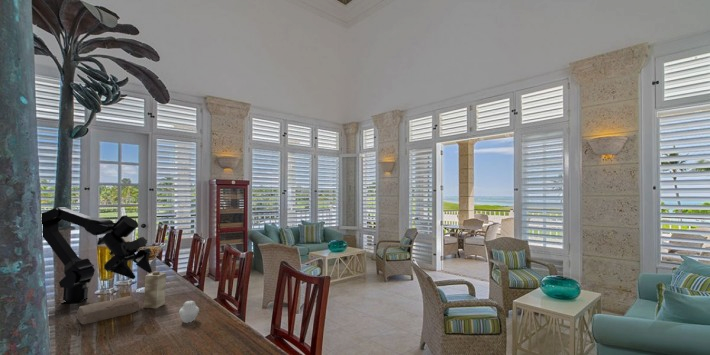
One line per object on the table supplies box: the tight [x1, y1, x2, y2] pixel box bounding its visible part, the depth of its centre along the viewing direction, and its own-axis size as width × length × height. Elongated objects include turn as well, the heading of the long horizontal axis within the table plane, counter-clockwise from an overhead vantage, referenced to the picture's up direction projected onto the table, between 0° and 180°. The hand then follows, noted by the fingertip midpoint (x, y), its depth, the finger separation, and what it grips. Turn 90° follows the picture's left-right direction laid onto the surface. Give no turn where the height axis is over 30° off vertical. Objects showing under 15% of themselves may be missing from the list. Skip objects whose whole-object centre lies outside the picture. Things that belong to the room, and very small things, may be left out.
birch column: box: [143, 270, 167, 309], centre depth 130 cm, size 5×5×13 cm
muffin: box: [179, 300, 200, 324], centre depth 116 cm, size 6×6×7 cm
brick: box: [76, 295, 140, 325], centre depth 119 cm, size 17×8×5 cm, turn 142°
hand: (143, 275), depth 131 cm, fingers open, 9 cm apart
